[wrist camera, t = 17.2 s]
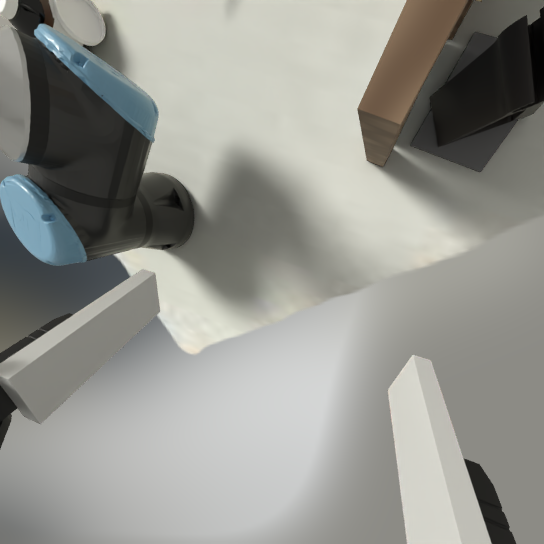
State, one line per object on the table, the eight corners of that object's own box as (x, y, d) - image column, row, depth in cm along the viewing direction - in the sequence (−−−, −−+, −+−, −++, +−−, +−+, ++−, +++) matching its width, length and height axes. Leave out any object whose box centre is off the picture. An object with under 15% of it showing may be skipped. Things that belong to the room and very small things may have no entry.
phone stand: (525, 56, 26) (629, -36, 16) (531, 115, 27) (631, 66, 17) (429, 97, 30) (459, 46, 20) (437, 147, 31) (470, 125, 21)
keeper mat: (410, 145, 32) (410, 145, 32) (474, 33, 27) (475, 31, 27) (479, 172, 31) (480, 171, 30) (561, 57, 26) (564, 55, 25)
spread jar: (54, 18, 47) (-36, -31, 37) (83, -33, 42) (-12, -106, 32) (85, 81, 49) (7, 51, 38) (117, 39, 43) (37, -8, 33)
